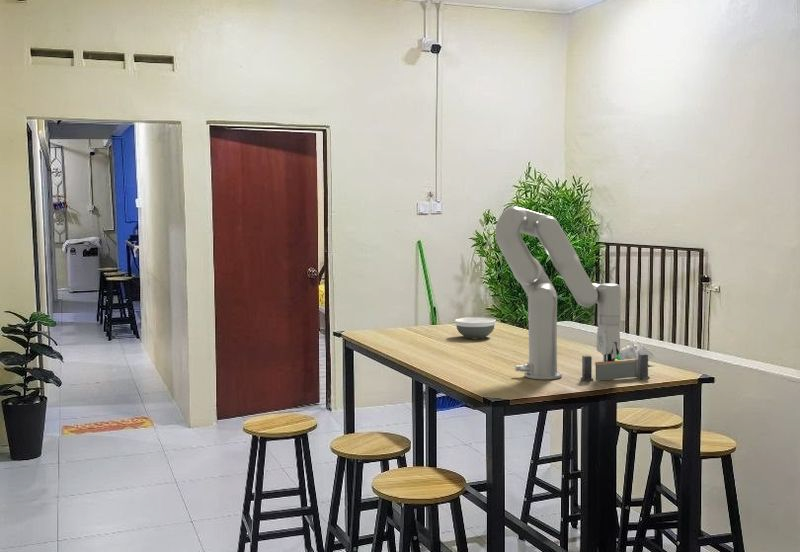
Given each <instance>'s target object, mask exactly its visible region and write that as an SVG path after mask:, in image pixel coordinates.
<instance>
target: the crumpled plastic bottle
mask: <svg viewBox="0 0 800 552" xmlns="http://www.w3.org/2000/svg"><path fill="white" fill-rule="evenodd" d="M638 354H648V362H649V361H650V360H651V359H653V358H655V354H654V353H653V351H651V350H650V349H649V348H647V347H645V346H644V345H643V343H642V341H640V343H639V344H638V343H637V342H636V341H634V340H632V341H629V342H628V344H627V346H625V347H623V348H620V353H619V354H618V355H617V359H616V360H628V359H638Z"/></svg>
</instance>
